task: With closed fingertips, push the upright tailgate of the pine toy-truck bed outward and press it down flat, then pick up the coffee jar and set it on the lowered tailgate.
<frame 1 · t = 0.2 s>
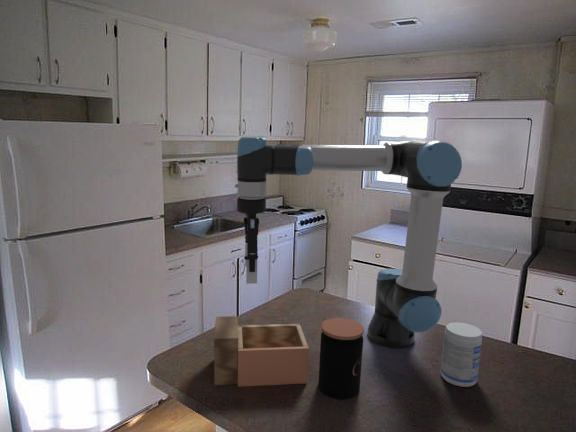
hand: (250, 274, 116), 27 cm above the countertop, fingers open, 13 cm apart
truck bed: (269, 372, 118), on the countertop
tailgate: (273, 366, 110), point 6 cm above the countertop, hinge at 0.0°
supplement tub: (457, 378, 118), on the countertop
coffee jar: (338, 391, 111), on the countertop
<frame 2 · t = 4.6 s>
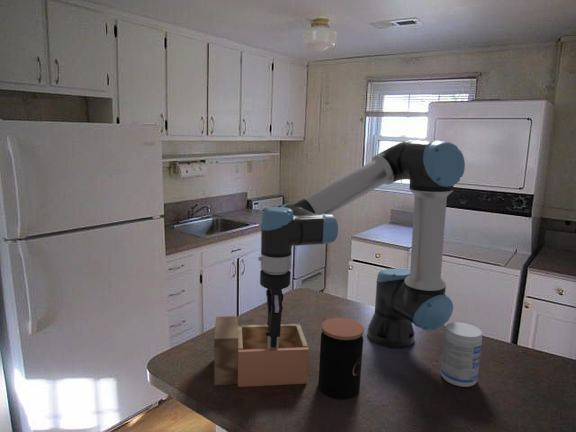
hand: (272, 356, 110), 9 cm above the countertop, fingers closed
tailgate: (273, 366, 109), point 6 cm above the countertop, hinge at 2.7°, touching gripper
everything else where it was.
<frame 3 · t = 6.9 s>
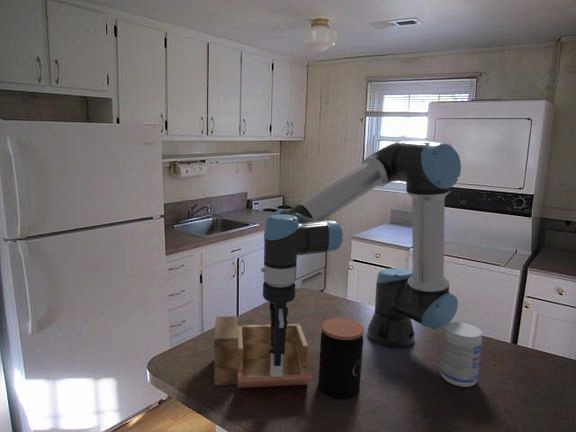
hand: (276, 374, 103), 8 cm above the countertop, fingers closed
tailgate: (274, 381, 107), point 4 cm above the countertop, hinge at 48.4°, touching gripper
everything else where it was.
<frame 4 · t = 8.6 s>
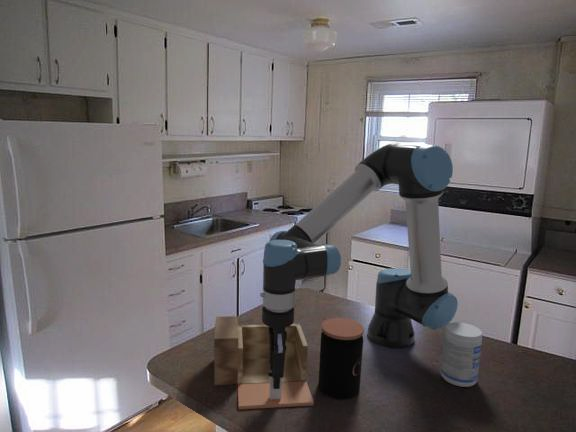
hand: (275, 397, 104), 2 cm above the countertop, fingers closed
tailgate: (274, 394, 106), point 1 cm above the countertop, hinge at 85.7°, touching gripper
everything else where it was.
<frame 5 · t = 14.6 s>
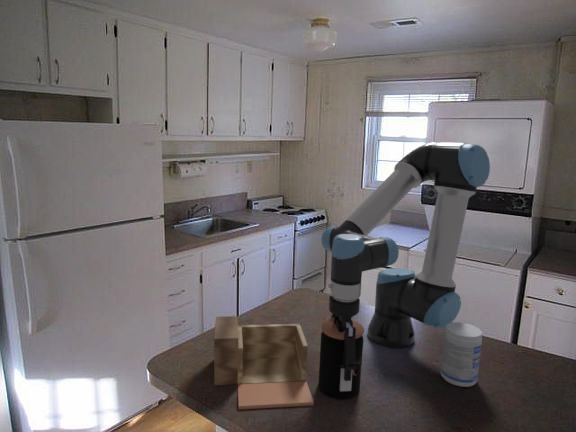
hand: (339, 377, 110), 4 cm above the countertop, fingers closed on coffee jar, 11 cm apart
tailgate: (274, 394, 106), point 1 cm above the countertop, hinge at 85.7°
coffee jar: (338, 391, 111), on the countertop, touching gripper
everything else where it was.
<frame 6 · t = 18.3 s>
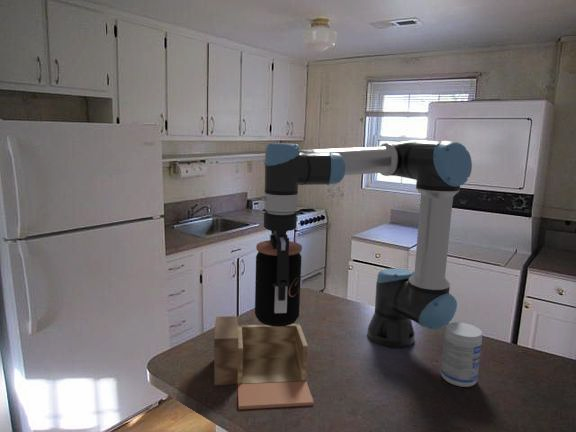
hand: (277, 302, 101), 26 cm above the countertop, fingers closed on coffee jar, 11 cm apart
coffee jar: (277, 318, 102), point 22 cm above the countertop, touching gripper
everything else where it was.
when the fingers open (7 cm above the countertop, at t = 22.2 s): coffee jar drops 2 cm, resting on tailgate, truck bed.
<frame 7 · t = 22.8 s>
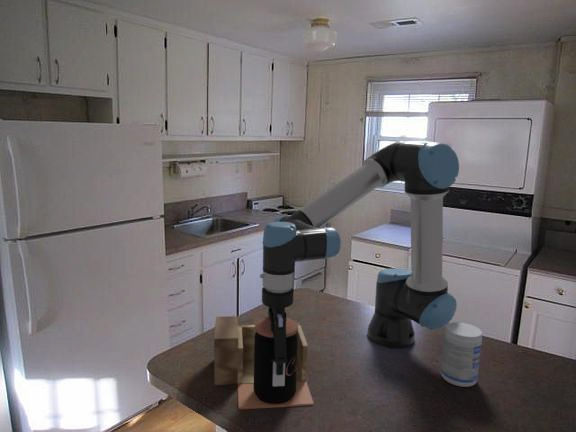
hand: (275, 369, 105), 8 cm above the countertop, fingers open, 13 cm apart
tailgate: (274, 395, 106), point 1 cm above the countertop, hinge at 87.7°, touching coffee jar
coffee jar: (274, 393, 106), point 1 cm above the countertop, touching tailgate, truck bed
everything else where it was.
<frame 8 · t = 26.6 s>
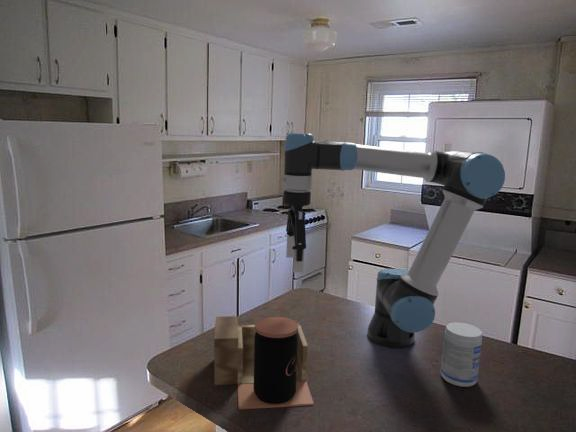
hand: (294, 264, 121), 29 cm above the countertop, fingers open, 13 cm apart
nothing on the countertop moved.
at the end: tailgate at +88° (first picture: +0°); coffee jar inside the target area (0.4 cm from its centre), point 1.2 cm above the countertop; coffee jar tilted 2° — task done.
